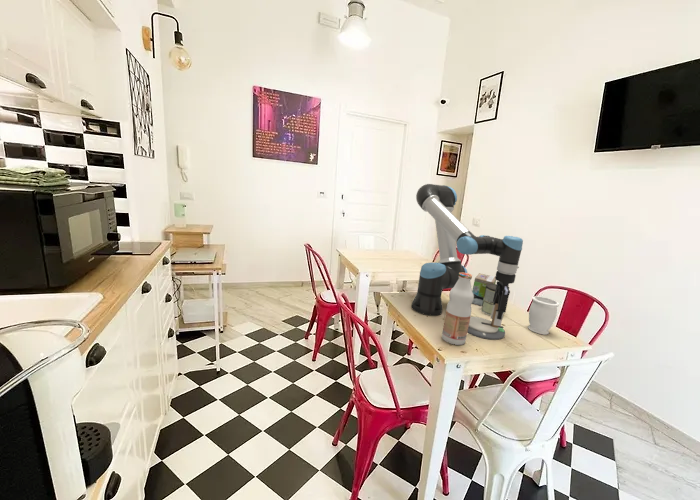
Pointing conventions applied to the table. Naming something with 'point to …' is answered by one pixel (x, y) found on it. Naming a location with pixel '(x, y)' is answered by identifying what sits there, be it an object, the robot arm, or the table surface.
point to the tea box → (481, 287)
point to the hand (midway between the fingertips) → (495, 322)
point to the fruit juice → (458, 311)
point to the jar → (542, 314)
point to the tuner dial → (484, 323)
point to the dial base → (488, 334)
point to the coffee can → (488, 299)
